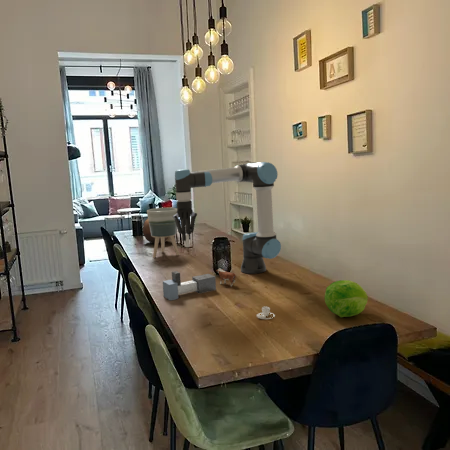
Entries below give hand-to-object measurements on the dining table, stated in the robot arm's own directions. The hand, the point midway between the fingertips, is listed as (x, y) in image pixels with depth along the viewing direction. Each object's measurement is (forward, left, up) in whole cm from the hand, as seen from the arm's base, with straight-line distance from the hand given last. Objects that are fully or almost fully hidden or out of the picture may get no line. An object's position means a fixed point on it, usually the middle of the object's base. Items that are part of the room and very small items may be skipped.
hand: (187, 246), depth 224 cm
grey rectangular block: (-7, -5, -24) cm, 26 cm away
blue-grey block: (+7, +9, -24) cm, 27 cm away
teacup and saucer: (-41, +28, -25) cm, 55 cm away
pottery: (+69, -123, -25) cm, 143 cm away
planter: (+46, -81, -25) cm, 96 cm away
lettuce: (-78, +22, -25) cm, 85 cm away
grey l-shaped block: (+2, +4, -23) cm, 23 cm away
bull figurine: (-15, -16, -25) cm, 33 cm away
